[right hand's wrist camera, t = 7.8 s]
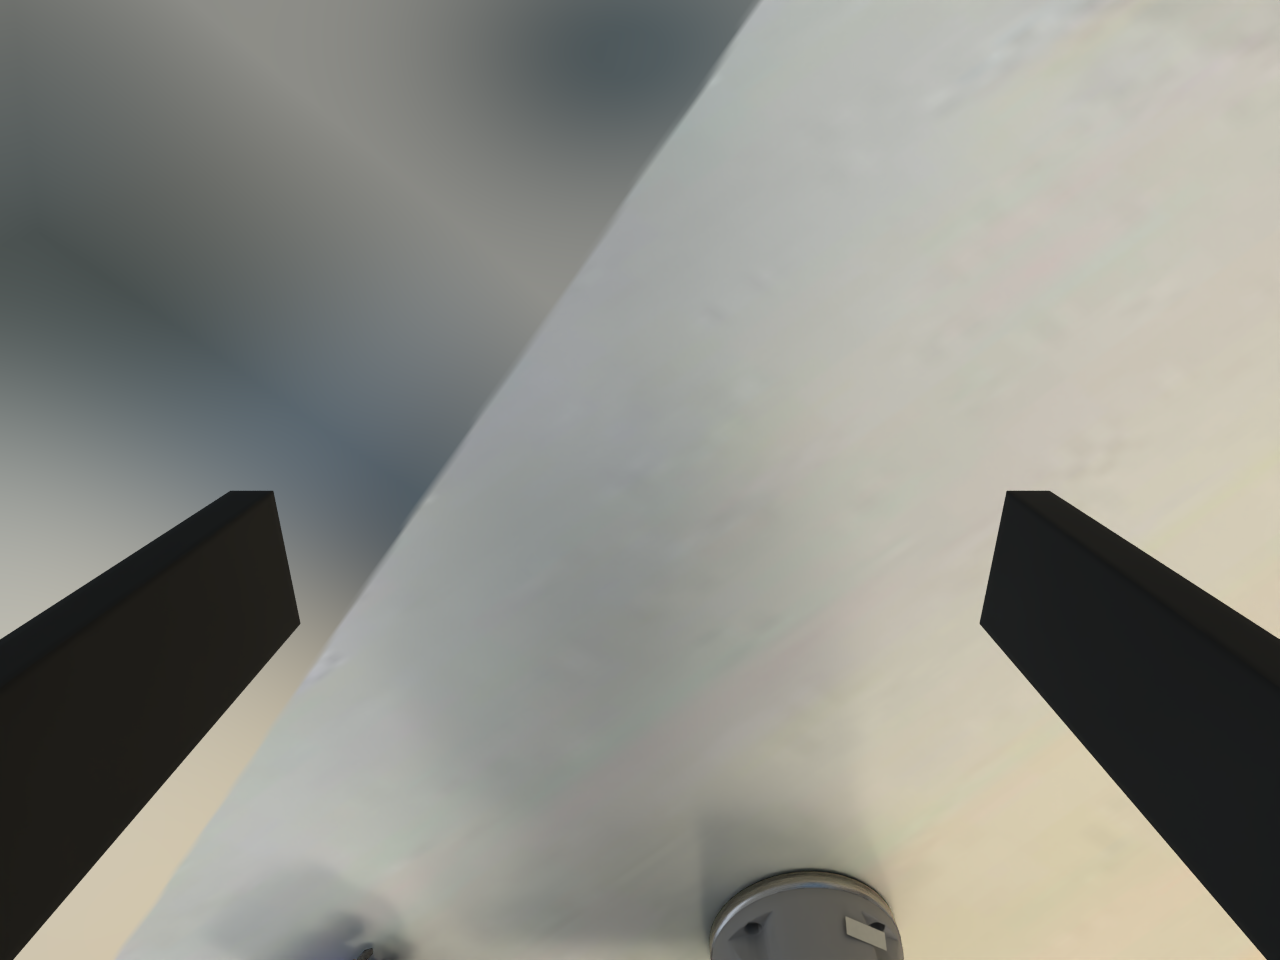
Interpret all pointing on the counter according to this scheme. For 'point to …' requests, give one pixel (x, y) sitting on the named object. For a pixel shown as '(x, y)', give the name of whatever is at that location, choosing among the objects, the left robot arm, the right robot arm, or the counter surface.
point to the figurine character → (365, 954)
